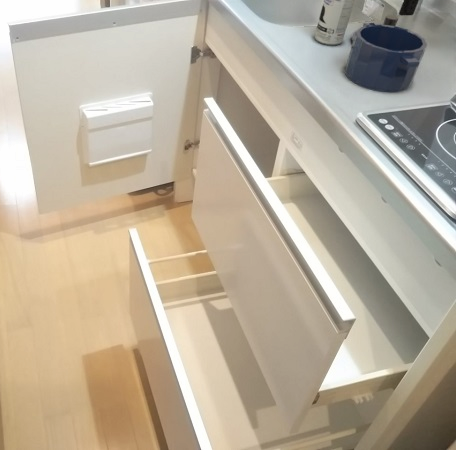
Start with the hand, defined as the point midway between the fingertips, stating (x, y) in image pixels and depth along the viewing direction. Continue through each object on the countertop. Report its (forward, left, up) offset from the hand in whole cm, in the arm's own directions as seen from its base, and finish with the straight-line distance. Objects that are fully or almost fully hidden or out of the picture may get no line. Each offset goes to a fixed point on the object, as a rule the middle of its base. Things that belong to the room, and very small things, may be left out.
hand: (394, 6), depth 117 cm
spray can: (+12, -4, -9) cm, 15 cm away
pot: (+9, +15, -9) cm, 20 cm away
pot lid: (0, 0, -8) cm, 8 cm away
